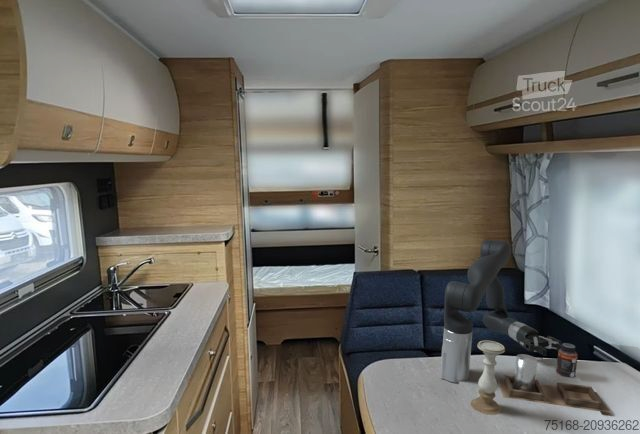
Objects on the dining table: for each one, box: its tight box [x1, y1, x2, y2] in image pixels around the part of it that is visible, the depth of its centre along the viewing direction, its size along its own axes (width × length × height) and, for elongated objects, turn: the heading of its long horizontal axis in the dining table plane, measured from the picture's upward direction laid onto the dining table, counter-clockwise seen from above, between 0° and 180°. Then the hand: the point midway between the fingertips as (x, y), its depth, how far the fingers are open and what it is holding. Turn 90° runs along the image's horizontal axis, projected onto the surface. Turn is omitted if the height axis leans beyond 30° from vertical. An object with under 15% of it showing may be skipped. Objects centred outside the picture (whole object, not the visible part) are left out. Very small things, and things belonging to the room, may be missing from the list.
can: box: [513, 353, 538, 392], centre depth 141 cm, size 6×6×11 cm
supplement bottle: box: [555, 342, 579, 379], centre depth 154 cm, size 6×6×11 cm
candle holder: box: [470, 340, 506, 416], centre depth 131 cm, size 9×9×20 cm
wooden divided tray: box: [497, 374, 612, 416], centre depth 140 cm, size 30×12×3 cm, turn 76°
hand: (556, 352), depth 159 cm, fingers open, 8 cm apart
